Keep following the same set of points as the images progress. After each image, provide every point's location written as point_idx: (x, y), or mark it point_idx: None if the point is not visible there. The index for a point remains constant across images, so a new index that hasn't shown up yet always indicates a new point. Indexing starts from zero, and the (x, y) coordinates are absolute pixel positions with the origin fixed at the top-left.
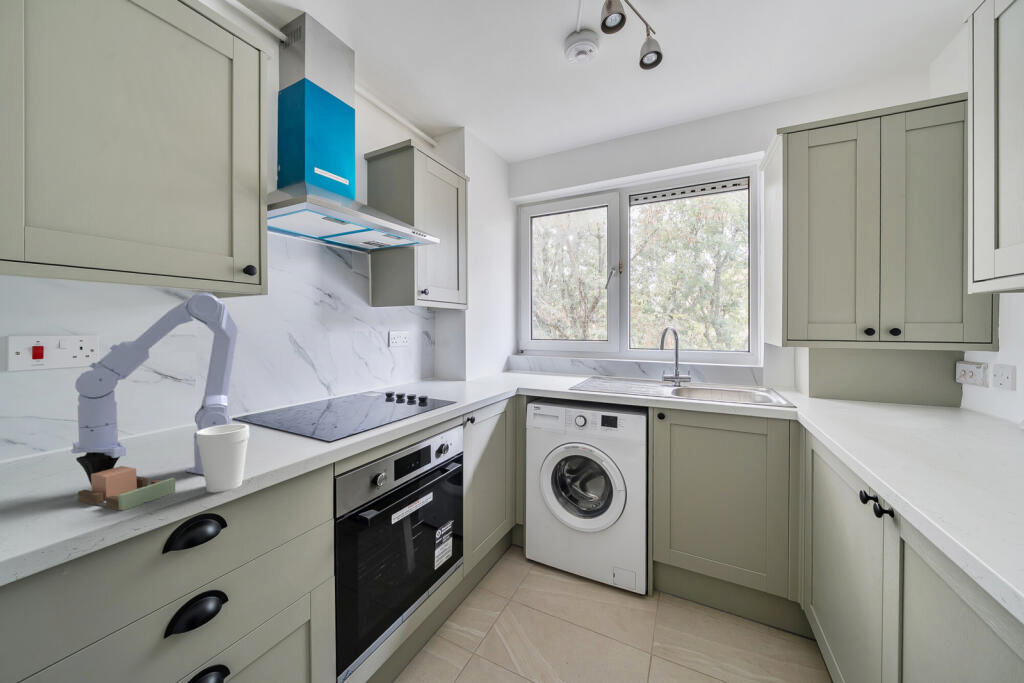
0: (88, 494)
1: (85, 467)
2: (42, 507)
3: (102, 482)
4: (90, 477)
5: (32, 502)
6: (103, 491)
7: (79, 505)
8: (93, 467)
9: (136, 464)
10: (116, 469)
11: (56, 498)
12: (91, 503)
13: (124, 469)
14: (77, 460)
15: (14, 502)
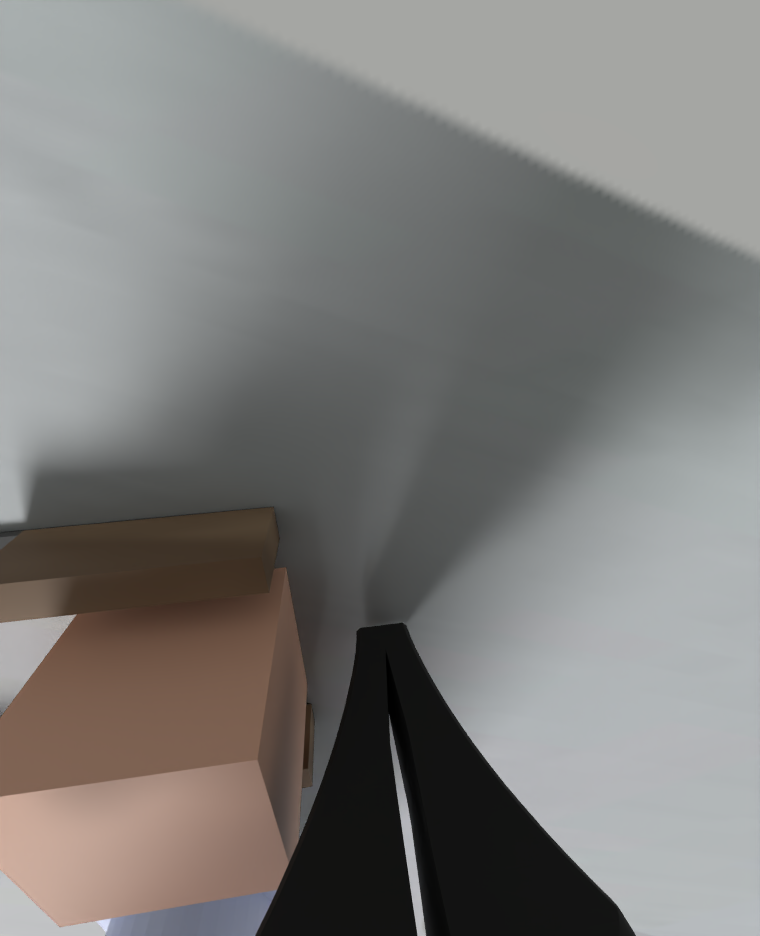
0: (91, 569)
1: (454, 809)
2: (386, 345)
3: (66, 714)
4: (402, 698)
5: (603, 359)
6: (104, 635)
7: (151, 479)
8: (293, 859)
9: (653, 784)
10: (206, 864)
11: (511, 463)
12: (92, 526)
13: (129, 889)
14: (592, 925)
15: (756, 300)
